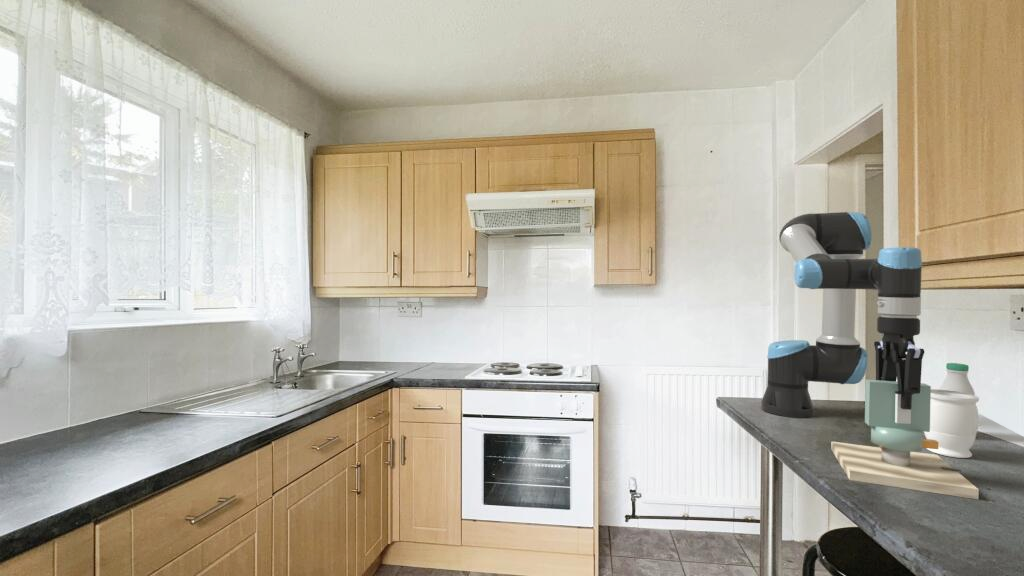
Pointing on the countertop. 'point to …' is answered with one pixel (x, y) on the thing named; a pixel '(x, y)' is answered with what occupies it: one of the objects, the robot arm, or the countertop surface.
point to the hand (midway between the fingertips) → (896, 419)
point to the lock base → (902, 469)
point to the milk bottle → (957, 379)
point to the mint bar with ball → (883, 417)
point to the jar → (953, 422)
